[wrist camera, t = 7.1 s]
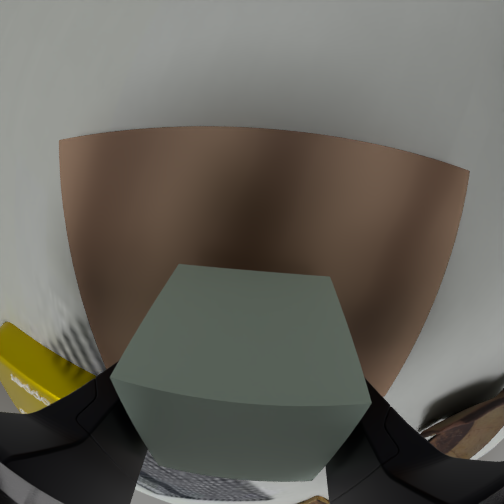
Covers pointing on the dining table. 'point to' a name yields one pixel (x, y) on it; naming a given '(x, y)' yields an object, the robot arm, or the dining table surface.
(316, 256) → the walnut board
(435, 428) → the oil lamp
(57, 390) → the element tile
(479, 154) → the dining table surface
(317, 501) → the shard
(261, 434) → the sage cube
